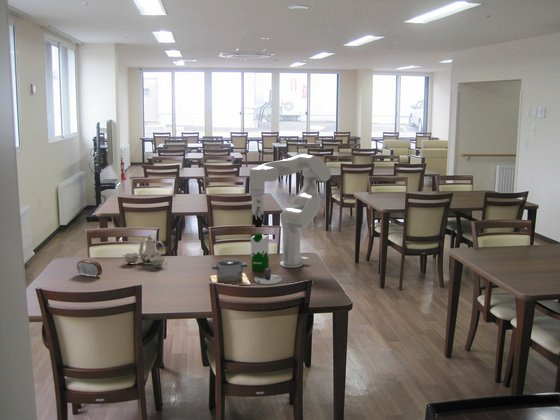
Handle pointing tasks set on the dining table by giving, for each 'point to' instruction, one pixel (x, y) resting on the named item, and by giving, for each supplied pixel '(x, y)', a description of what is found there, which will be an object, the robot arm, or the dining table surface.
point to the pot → (230, 272)
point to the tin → (89, 267)
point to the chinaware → (147, 253)
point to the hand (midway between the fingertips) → (257, 225)
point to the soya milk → (260, 252)
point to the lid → (268, 278)
